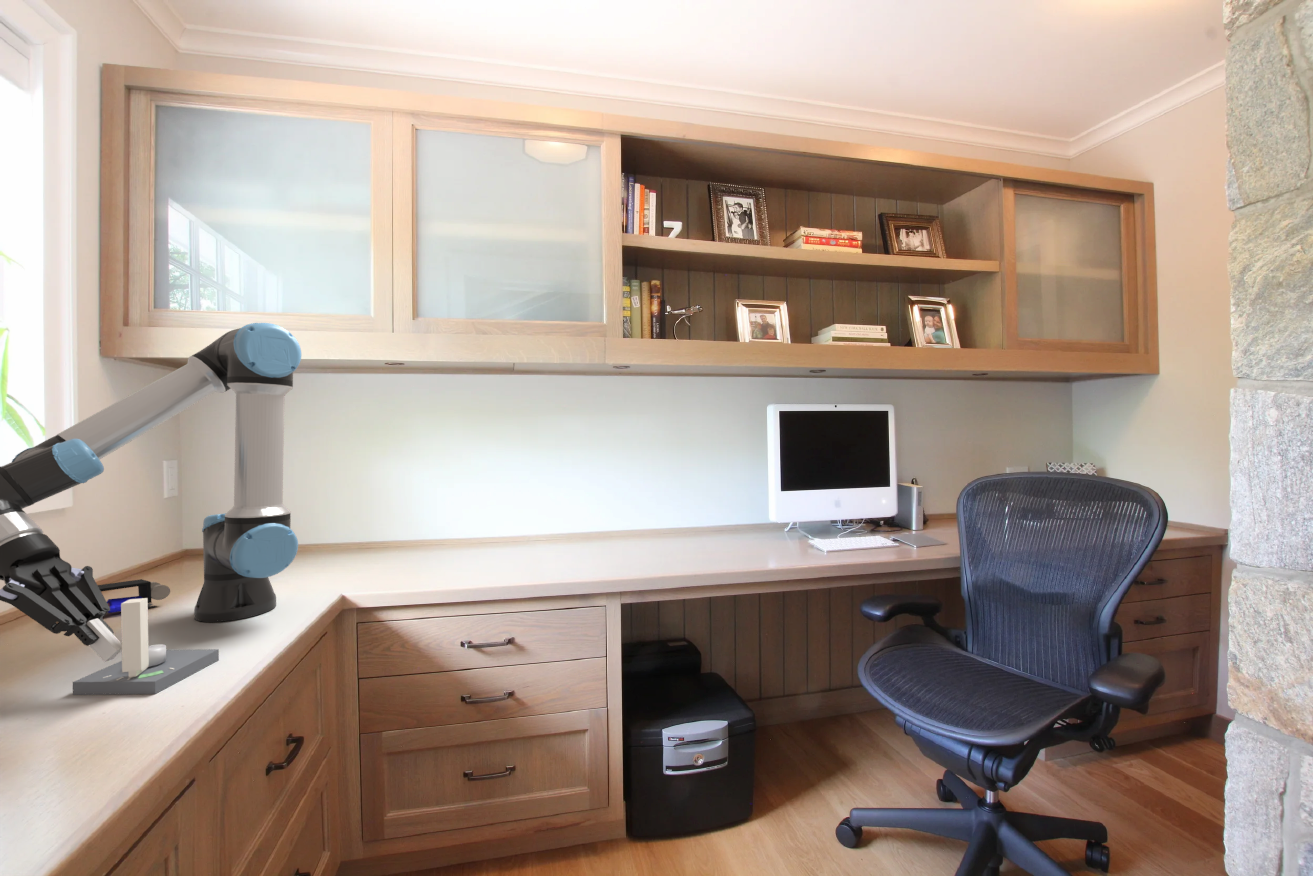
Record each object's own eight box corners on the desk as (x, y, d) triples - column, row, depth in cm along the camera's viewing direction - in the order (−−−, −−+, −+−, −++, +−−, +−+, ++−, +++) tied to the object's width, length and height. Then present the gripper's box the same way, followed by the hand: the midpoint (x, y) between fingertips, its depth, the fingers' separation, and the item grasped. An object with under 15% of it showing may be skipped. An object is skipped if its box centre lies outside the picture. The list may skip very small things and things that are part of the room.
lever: (141, 660, 96) (140, 590, 96) (170, 656, 98) (169, 588, 97) (116, 679, 89) (114, 604, 89) (147, 675, 90) (146, 601, 90)
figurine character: (157, 608, 137) (69, 619, 124) (161, 576, 137) (74, 584, 124) (168, 612, 133) (79, 624, 120) (172, 580, 134) (84, 588, 121)
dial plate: (146, 660, 102) (146, 649, 102) (218, 660, 102) (218, 648, 102) (72, 694, 89) (72, 681, 89) (155, 694, 89) (155, 680, 89)
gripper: (42, 555, 96) (135, 655, 96) (-54, 573, 83) (54, 688, 83) (74, 525, 96) (167, 625, 96) (-17, 538, 83) (91, 654, 83)
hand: (114, 654), depth 89 cm, fingers closed
